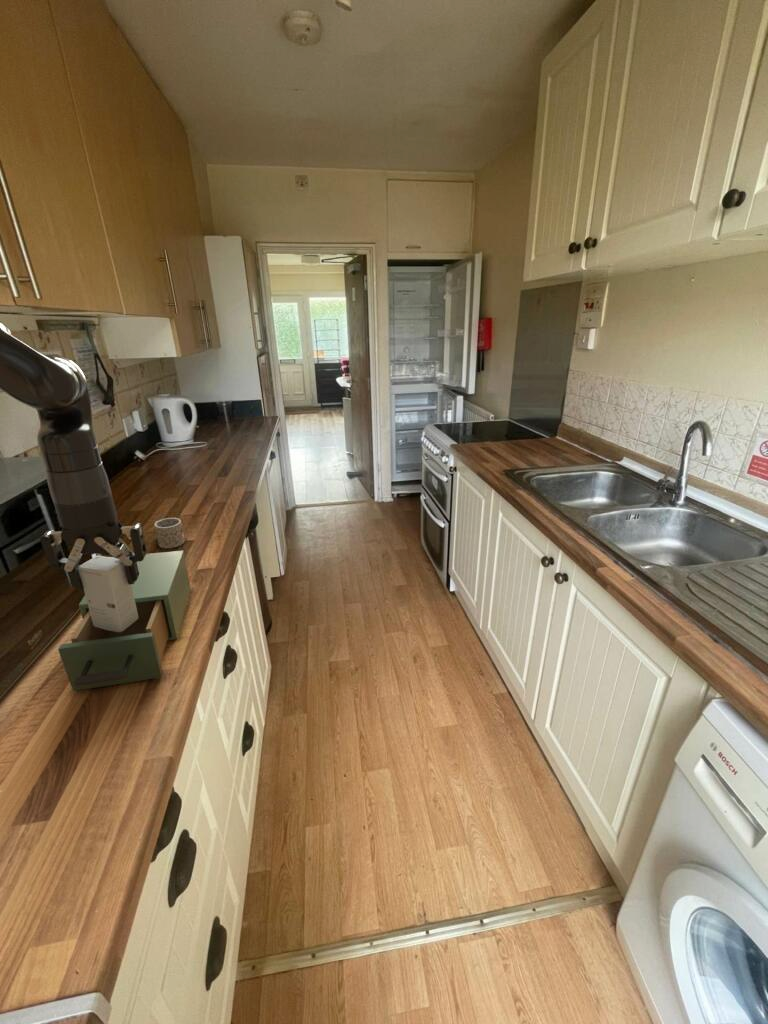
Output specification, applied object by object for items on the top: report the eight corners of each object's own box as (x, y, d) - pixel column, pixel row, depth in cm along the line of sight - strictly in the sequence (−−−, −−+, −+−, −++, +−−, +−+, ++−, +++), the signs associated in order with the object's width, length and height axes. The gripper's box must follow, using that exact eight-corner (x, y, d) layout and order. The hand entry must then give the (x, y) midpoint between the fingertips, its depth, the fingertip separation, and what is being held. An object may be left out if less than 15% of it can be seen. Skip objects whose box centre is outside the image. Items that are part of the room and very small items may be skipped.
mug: (189, 542, 122) (185, 521, 119) (167, 551, 117) (163, 530, 114) (169, 533, 127) (165, 513, 124) (147, 541, 122) (142, 520, 119)
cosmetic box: (92, 627, 74) (73, 567, 69) (113, 612, 78) (96, 554, 73) (122, 633, 73) (105, 572, 68) (142, 617, 77) (127, 559, 72)
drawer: (155, 699, 70) (144, 656, 67) (60, 714, 67) (43, 671, 63) (178, 619, 89) (171, 582, 86) (105, 628, 86) (94, 591, 82)
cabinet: (177, 640, 85) (167, 594, 80) (93, 652, 81) (78, 605, 77) (191, 590, 100) (183, 550, 96) (121, 598, 97) (110, 557, 93)
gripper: (140, 482, 70) (158, 568, 77) (39, 488, 67) (68, 577, 74) (127, 499, 64) (148, 592, 70) (14, 506, 60) (48, 603, 67)
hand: (107, 584), depth 72 cm, fingers closed on cosmetic box, 7 cm apart
